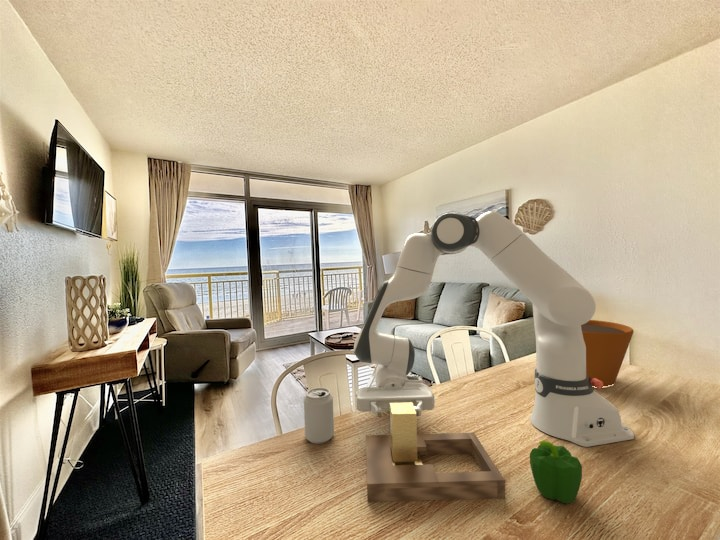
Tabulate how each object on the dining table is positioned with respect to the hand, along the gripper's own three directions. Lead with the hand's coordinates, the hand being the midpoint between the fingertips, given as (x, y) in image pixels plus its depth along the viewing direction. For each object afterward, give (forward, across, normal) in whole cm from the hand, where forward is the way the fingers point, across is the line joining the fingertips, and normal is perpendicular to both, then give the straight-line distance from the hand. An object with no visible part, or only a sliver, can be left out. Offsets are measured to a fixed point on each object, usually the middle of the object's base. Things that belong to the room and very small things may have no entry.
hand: (398, 413), depth 74 cm
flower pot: (-37, +73, +9) cm, 82 cm away
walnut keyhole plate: (+8, +5, +8) cm, 13 cm away
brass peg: (+8, 0, +9) cm, 12 cm away
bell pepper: (+15, +28, +9) cm, 33 cm away
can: (-6, -20, +9) cm, 23 cm away
